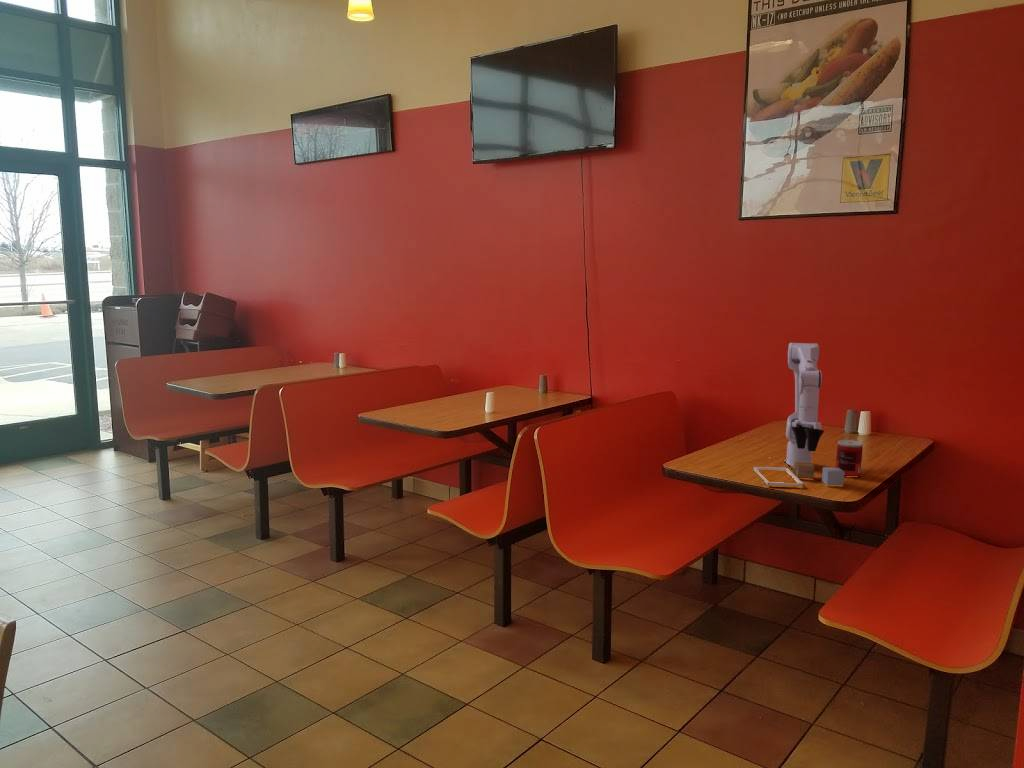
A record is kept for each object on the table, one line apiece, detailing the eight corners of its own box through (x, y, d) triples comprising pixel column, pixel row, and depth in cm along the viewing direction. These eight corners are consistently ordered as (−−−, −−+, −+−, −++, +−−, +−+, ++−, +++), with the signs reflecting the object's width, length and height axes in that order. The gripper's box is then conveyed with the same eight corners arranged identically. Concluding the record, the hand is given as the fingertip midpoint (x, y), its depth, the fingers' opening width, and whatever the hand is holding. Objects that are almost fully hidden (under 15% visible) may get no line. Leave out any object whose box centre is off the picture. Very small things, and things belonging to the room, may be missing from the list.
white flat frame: (753, 471, 260) (753, 466, 260) (786, 472, 259) (787, 467, 259) (767, 487, 242) (767, 482, 242) (803, 488, 241) (803, 483, 241)
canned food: (853, 471, 261) (856, 439, 259) (864, 478, 253) (867, 445, 251) (830, 471, 261) (833, 439, 259) (841, 478, 253) (844, 445, 251)
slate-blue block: (821, 482, 248) (822, 467, 248) (837, 482, 248) (838, 467, 247) (826, 487, 243) (828, 471, 243) (843, 487, 243) (844, 472, 242)
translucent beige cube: (792, 475, 256) (793, 461, 255) (808, 476, 255) (809, 461, 255) (797, 480, 251) (798, 465, 250) (813, 480, 250) (814, 465, 250)
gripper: (786, 406, 257) (784, 446, 257) (806, 408, 243) (804, 451, 243) (807, 406, 258) (805, 447, 258) (828, 409, 243) (826, 452, 244)
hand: (806, 449), depth 250 cm, fingers open, 7 cm apart
